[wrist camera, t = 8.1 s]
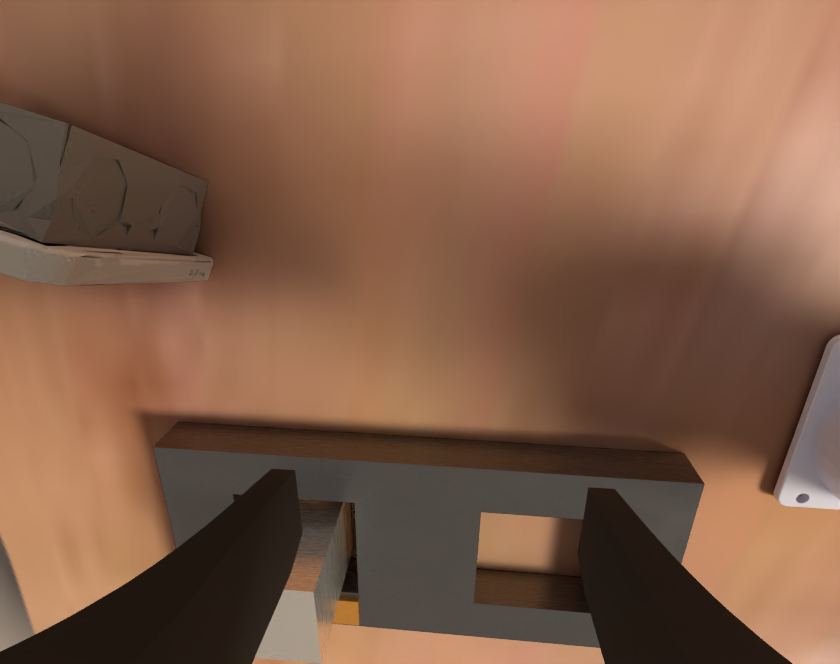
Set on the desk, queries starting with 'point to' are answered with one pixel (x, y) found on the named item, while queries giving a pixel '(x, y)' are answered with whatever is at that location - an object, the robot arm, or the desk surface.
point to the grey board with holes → (433, 516)
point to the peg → (311, 585)
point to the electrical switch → (92, 209)
